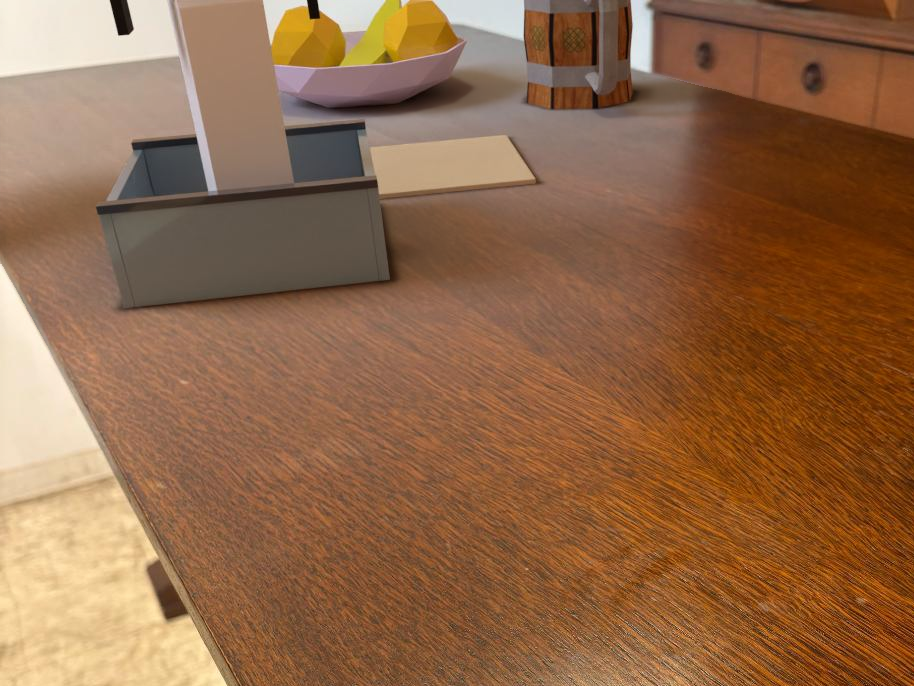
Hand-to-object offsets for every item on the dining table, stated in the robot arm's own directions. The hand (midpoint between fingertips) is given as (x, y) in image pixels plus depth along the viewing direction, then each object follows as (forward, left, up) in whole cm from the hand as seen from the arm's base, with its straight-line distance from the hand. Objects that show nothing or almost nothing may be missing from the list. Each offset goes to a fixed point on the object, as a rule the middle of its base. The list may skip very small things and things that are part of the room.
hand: (221, 25), depth 80 cm
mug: (+37, +44, -17) cm, 60 cm away
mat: (+15, +21, -17) cm, 31 cm away
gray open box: (0, 0, -17) cm, 17 cm away
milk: (0, 0, -17) cm, 17 cm away
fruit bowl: (+12, +60, -17) cm, 64 cm away
